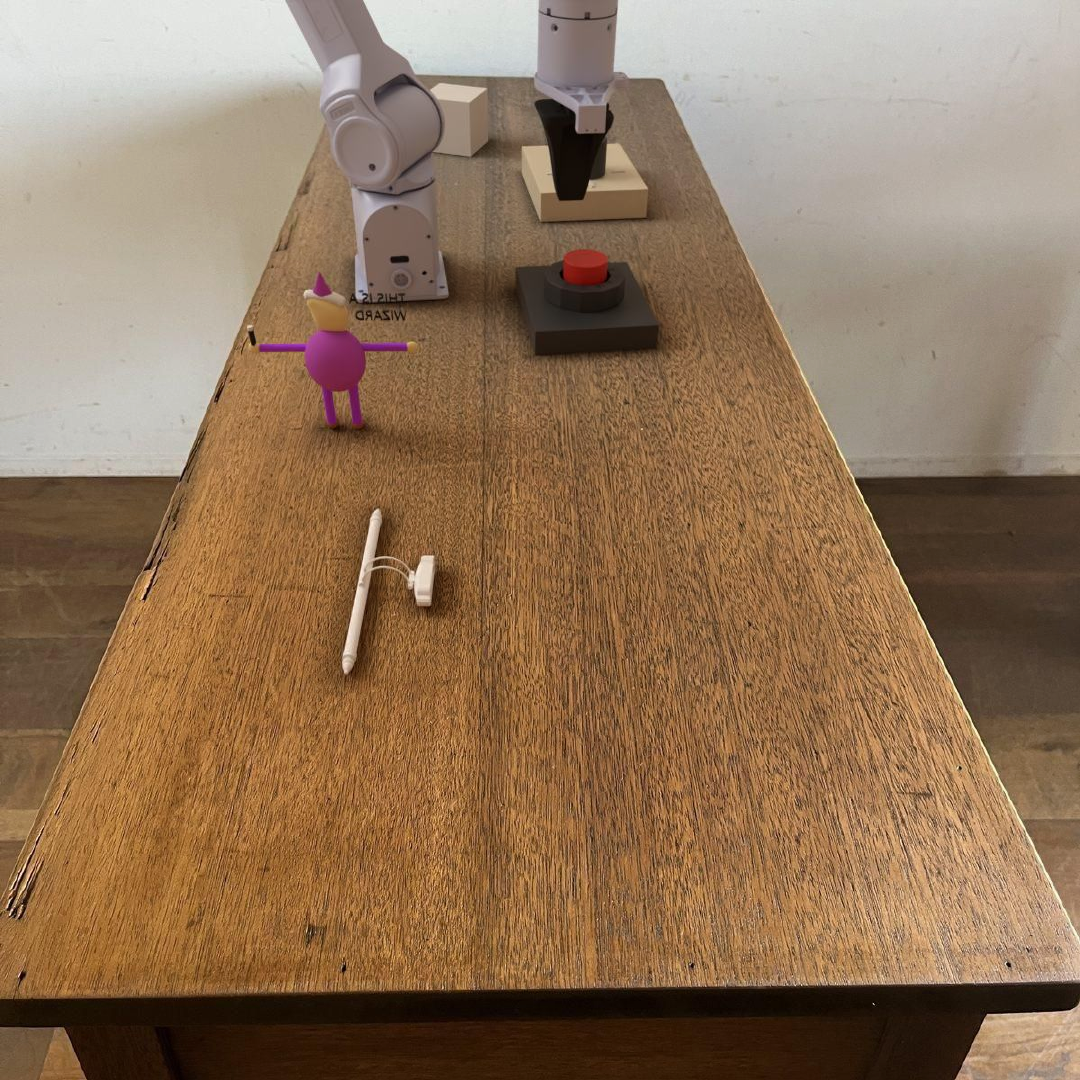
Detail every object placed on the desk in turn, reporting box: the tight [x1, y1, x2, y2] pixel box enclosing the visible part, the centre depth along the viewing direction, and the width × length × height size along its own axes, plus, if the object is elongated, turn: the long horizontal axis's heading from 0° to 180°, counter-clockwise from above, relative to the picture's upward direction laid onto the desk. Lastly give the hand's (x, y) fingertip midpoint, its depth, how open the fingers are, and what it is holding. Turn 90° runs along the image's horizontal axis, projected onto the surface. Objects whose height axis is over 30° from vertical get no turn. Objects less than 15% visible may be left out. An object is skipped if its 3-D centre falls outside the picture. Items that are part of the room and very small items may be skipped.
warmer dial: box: [590, 135, 608, 179], centre depth 101 cm, size 4×4×4 cm
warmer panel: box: [521, 142, 649, 223], centre depth 104 cm, size 14×11×3 cm
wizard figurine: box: [246, 271, 419, 430], centre depth 66 cm, size 11×3×12 cm, turn 92°
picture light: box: [341, 508, 436, 675], centre depth 56 cm, size 14×4×2 cm, turn 0°
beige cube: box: [429, 82, 489, 158], centre depth 115 cm, size 6×6×6 cm
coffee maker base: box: [514, 259, 660, 356], centre depth 82 cm, size 12×10×4 cm
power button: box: [563, 248, 609, 286], centre depth 81 cm, size 4×4×2 cm
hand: (569, 197), depth 80 cm, fingers closed
